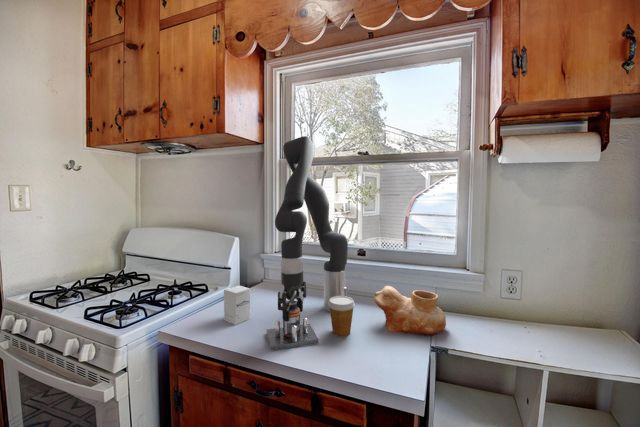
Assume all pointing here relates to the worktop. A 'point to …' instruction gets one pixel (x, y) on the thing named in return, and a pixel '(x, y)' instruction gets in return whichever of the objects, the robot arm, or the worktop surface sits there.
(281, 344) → the plate
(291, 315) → the supplement bottle
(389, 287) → the ceramic vessel
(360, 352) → the worktop surface
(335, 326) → the disposable coffee cup
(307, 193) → the robot arm
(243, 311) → the supplement box
